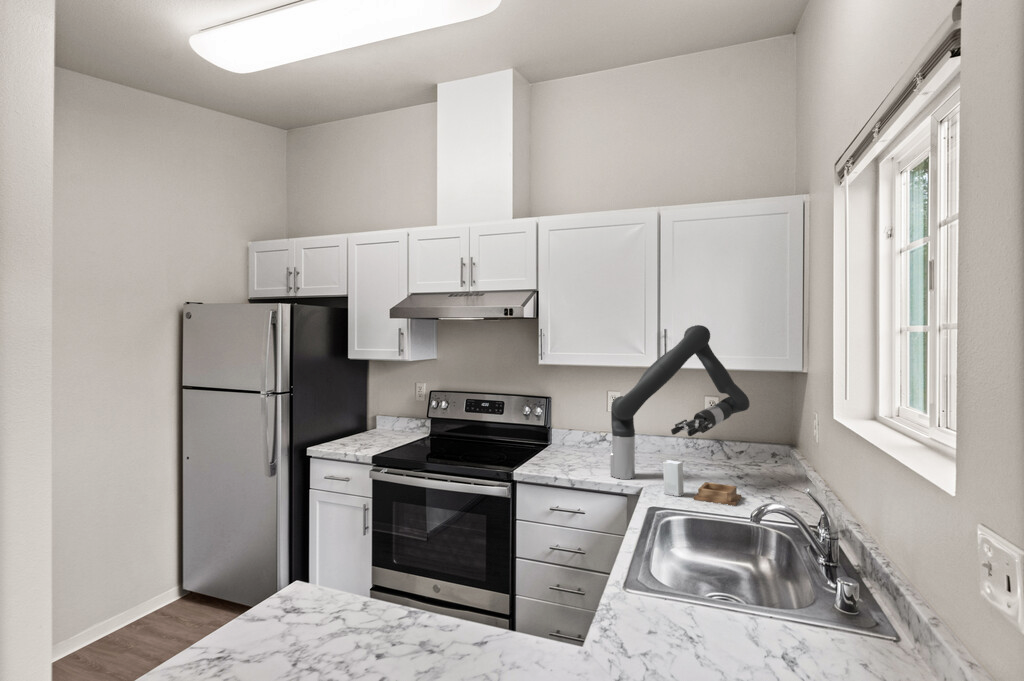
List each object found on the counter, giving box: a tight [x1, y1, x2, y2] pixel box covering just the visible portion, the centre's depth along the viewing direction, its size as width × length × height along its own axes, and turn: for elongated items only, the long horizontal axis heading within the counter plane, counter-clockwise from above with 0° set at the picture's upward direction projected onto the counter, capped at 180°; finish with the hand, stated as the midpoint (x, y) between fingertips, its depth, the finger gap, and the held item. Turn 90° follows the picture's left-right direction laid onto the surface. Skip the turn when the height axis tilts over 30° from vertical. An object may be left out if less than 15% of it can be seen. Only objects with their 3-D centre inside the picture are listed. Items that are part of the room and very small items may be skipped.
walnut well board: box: [692, 482, 742, 507], centre depth 198 cm, size 14×12×4 cm
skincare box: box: [662, 459, 685, 497], centre depth 203 cm, size 6×4×12 cm
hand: (680, 433), depth 210 cm, fingers open, 8 cm apart
